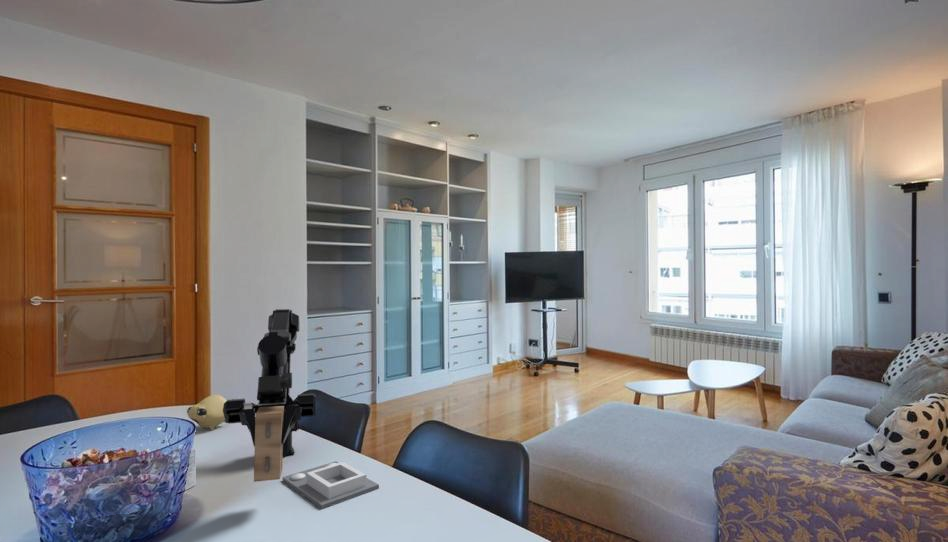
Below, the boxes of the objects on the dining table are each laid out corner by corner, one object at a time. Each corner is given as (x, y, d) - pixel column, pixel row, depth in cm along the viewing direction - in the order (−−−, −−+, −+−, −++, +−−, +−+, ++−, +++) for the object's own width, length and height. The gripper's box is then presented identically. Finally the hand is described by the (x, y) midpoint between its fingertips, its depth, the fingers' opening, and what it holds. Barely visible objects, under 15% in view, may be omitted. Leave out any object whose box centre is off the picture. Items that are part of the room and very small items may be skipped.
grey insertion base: (282, 480, 111) (282, 466, 111) (336, 464, 121) (336, 451, 121) (321, 509, 97) (322, 493, 97) (378, 488, 107) (378, 473, 107)
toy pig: (181, 431, 149) (181, 398, 149) (217, 421, 159) (217, 390, 160) (200, 436, 144) (200, 401, 145) (235, 425, 155) (235, 393, 155)
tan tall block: (257, 471, 101) (259, 407, 101) (282, 469, 102) (284, 405, 102) (253, 483, 95) (254, 415, 95) (279, 480, 97) (281, 413, 97)
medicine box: (196, 485, 109) (196, 448, 109) (179, 494, 104) (180, 455, 105) (170, 482, 111) (170, 445, 111) (152, 490, 106) (153, 452, 107)
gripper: (224, 362, 100) (213, 429, 89) (316, 358, 106) (315, 420, 95) (231, 391, 107) (221, 456, 97) (316, 385, 113) (315, 446, 103)
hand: (268, 444), depth 98 cm, fingers closed on tan tall block, 5 cm apart
